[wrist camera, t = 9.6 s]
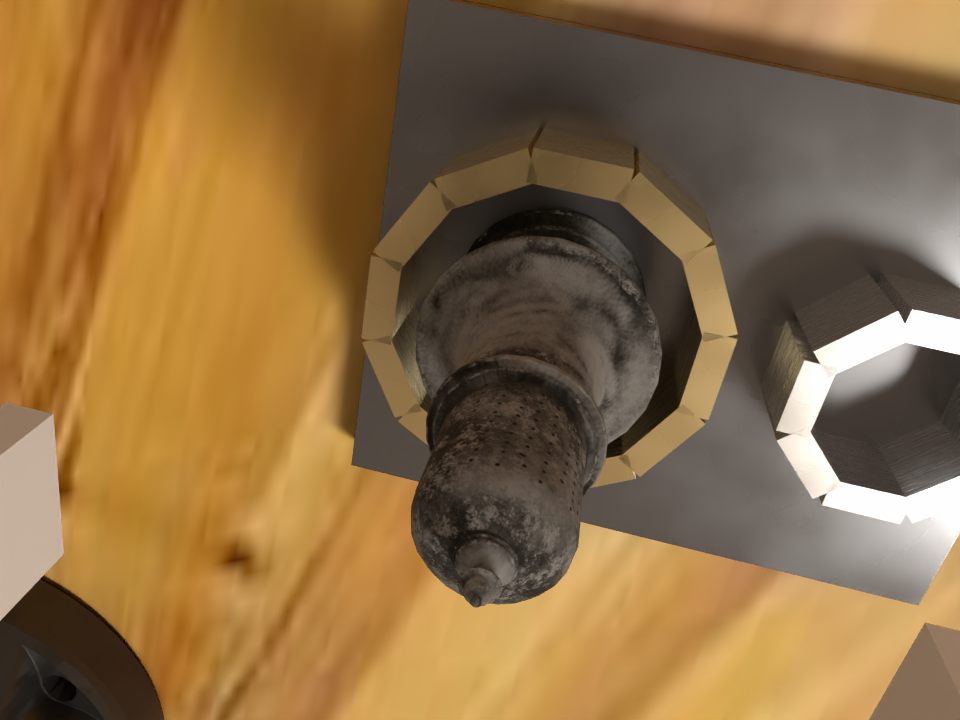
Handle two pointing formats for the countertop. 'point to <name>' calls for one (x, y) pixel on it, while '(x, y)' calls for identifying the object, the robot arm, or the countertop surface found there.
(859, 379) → the plate
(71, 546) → the countertop surface
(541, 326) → the salt shaker
